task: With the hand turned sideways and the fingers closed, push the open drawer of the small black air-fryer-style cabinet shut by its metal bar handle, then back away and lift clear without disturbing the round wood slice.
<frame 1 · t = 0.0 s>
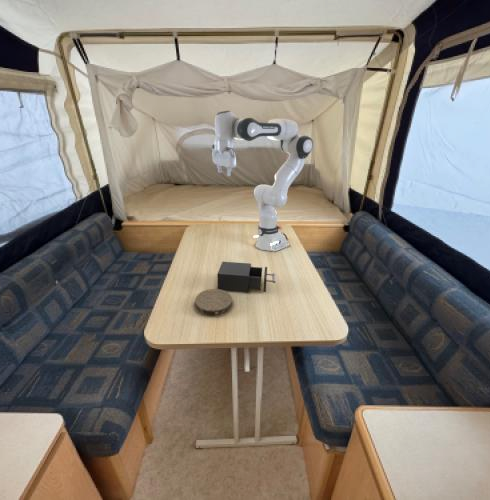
hand: (224, 174, 140), 48 cm above the table, tool pointing down, fingers open, 8 cm apart
cabinet: (234, 284, 132), on the table
round wood slice: (213, 304, 117), on the table
drawer: (256, 278, 129), point 5 cm above the table, slide at 7.0 cm
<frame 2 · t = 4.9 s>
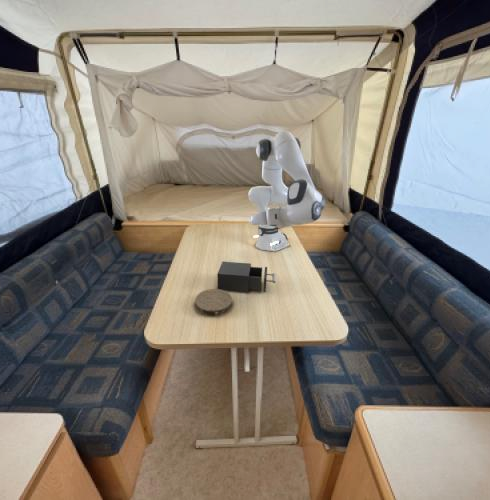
hand: (256, 222, 119), 32 cm above the table, tool tilted 70°, fingers open, 8 cm apart
nothing on the table moved.
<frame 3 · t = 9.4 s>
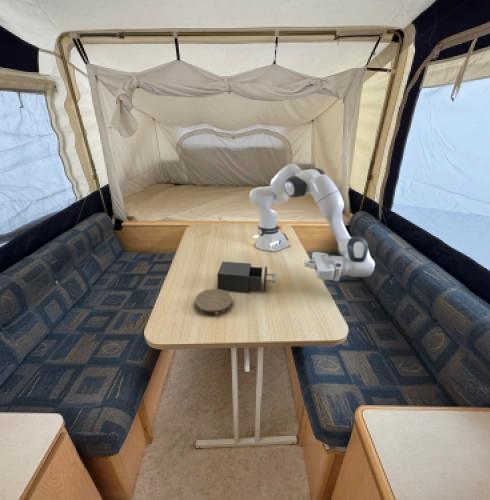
hand: (304, 263, 122), 14 cm above the table, tool horizontal, fingers closed
nothing on the table moved.
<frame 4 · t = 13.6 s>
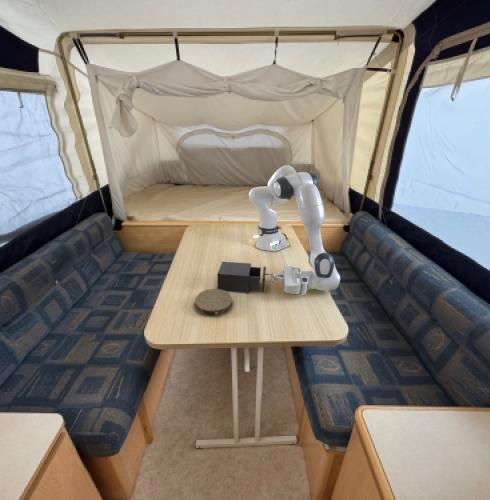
hand: (274, 277, 127), 6 cm above the table, tool horizontal, fingers closed, pressing on drawer
drawer: (255, 278, 129), point 5 cm above the table, slide at 6.3 cm, touching gripper
everything else where it was.
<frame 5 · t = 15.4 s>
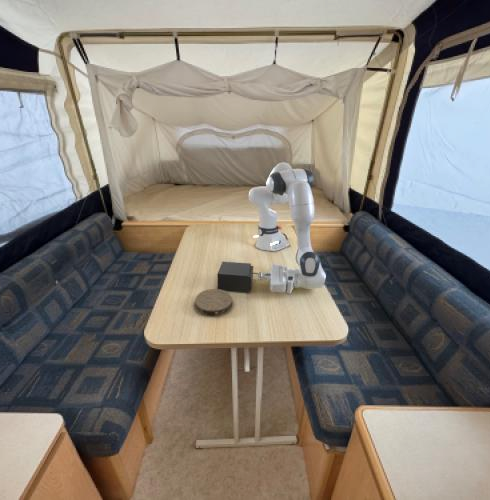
hand: (260, 276, 128), 6 cm above the table, tool horizontal, fingers closed, pressing on drawer
drawer: (242, 277, 129), point 5 cm above the table, slide at 0.0 cm, touching cabinet, gripper
everything else where it was.
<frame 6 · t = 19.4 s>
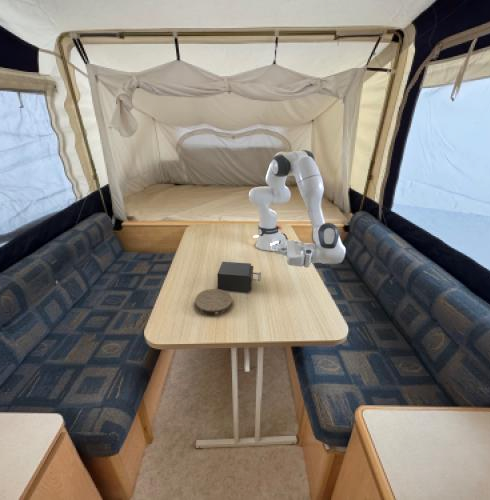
hand: (276, 250, 121), 20 cm above the table, tool horizontal, fingers closed
drawer: (242, 277, 129), point 5 cm above the table, slide at 0.0 cm
everything else where it was.
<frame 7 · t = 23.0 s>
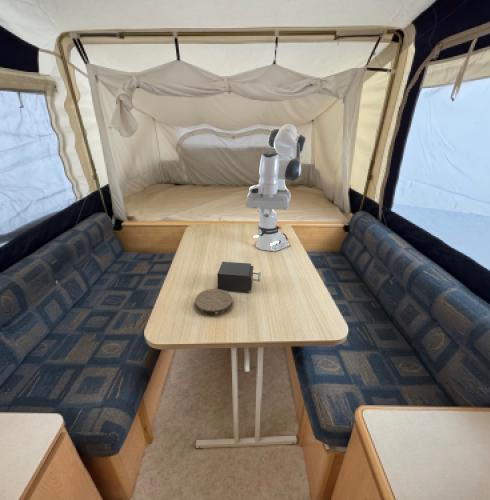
hand: (266, 217, 129), 31 cm above the table, tool pointing down, fingers closed
nothing on the table moved.
at the end: drawer slide at 0.0 cm; round wood slice moved 0.2 cm from its start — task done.
